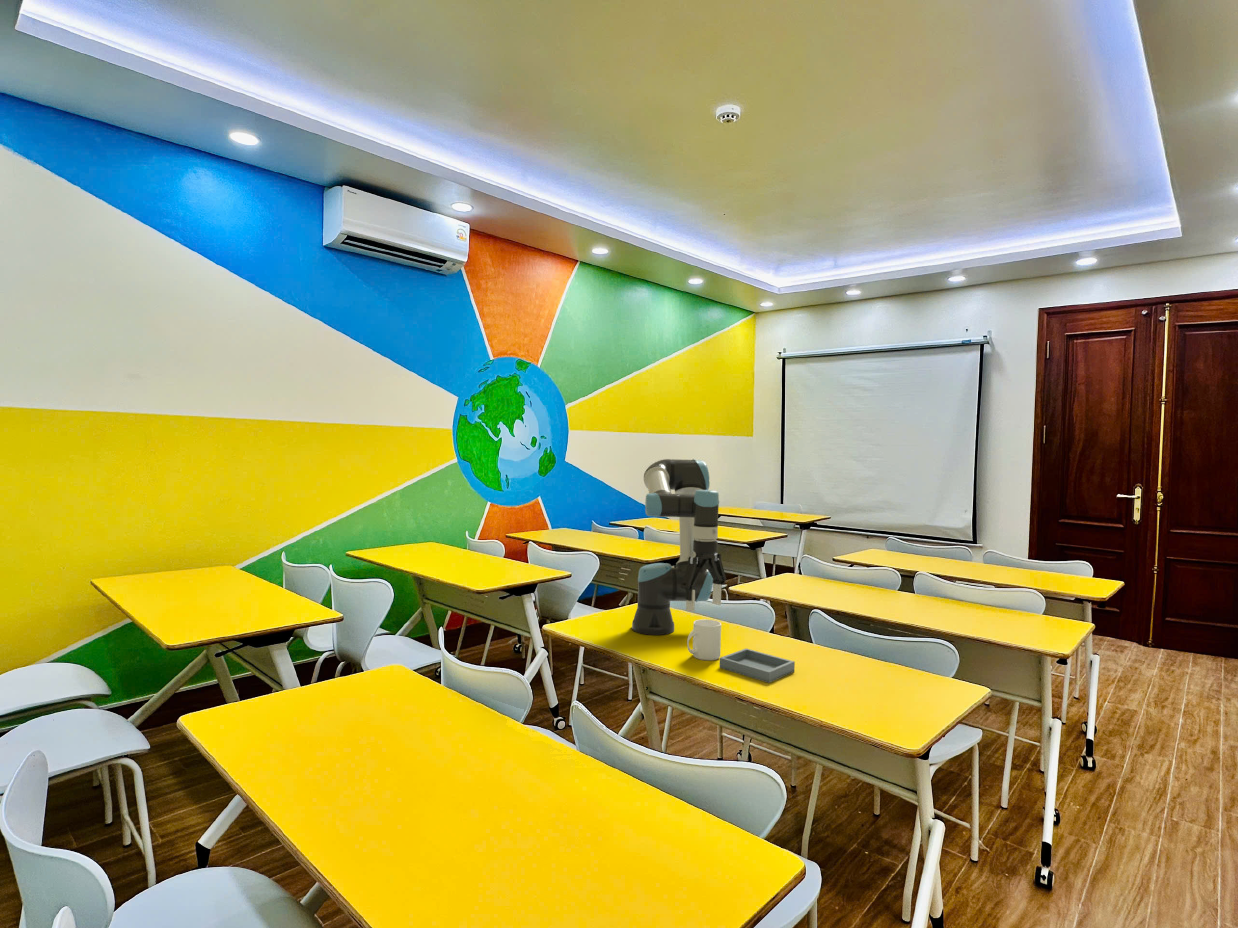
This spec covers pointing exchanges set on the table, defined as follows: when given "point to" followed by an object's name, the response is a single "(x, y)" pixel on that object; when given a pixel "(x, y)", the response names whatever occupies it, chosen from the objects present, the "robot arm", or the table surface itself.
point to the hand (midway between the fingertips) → (703, 607)
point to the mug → (706, 639)
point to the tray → (757, 665)
